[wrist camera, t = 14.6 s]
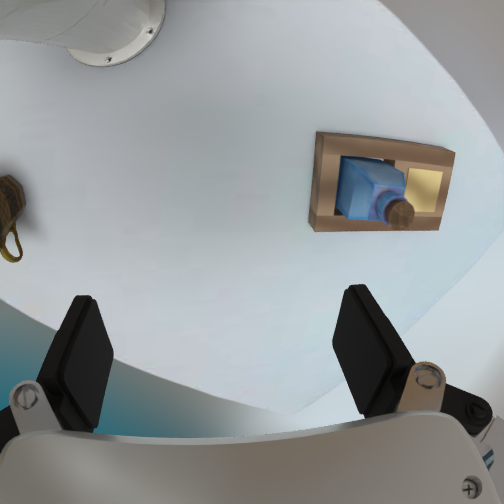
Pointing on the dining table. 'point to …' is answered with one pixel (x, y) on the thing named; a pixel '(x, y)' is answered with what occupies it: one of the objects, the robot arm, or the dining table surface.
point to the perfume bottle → (373, 192)
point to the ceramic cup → (10, 213)
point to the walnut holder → (395, 154)
